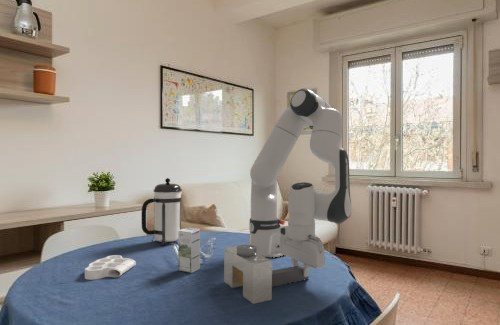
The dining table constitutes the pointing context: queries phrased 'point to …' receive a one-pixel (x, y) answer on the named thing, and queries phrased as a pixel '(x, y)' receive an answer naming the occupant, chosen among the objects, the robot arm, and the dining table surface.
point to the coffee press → (165, 212)
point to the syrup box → (188, 250)
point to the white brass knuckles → (108, 267)
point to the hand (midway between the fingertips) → (301, 274)
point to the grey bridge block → (248, 272)
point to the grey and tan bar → (287, 275)
